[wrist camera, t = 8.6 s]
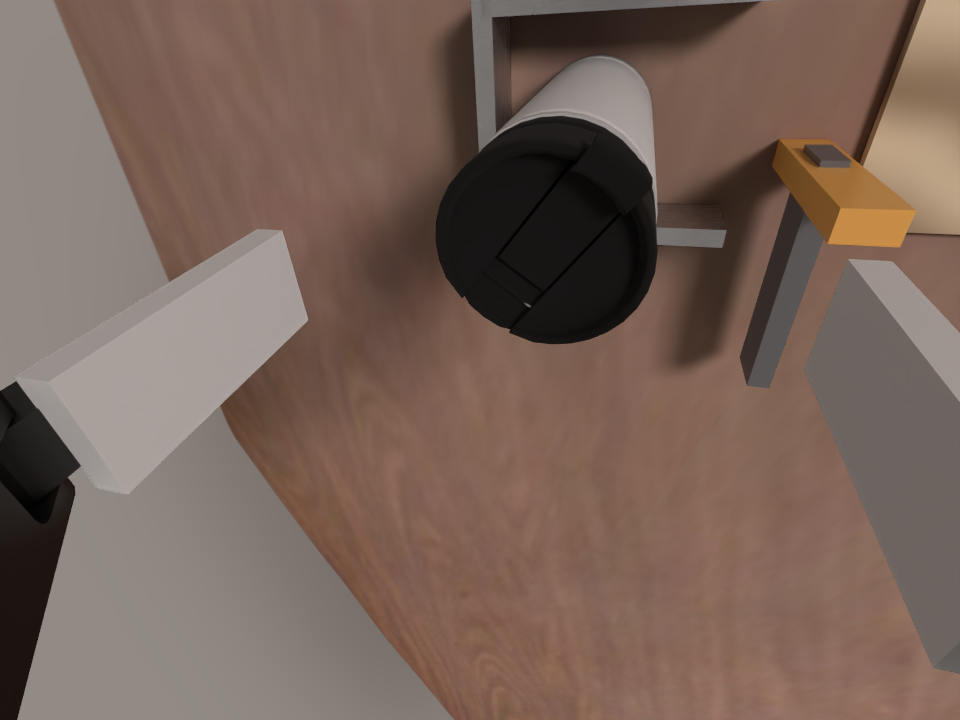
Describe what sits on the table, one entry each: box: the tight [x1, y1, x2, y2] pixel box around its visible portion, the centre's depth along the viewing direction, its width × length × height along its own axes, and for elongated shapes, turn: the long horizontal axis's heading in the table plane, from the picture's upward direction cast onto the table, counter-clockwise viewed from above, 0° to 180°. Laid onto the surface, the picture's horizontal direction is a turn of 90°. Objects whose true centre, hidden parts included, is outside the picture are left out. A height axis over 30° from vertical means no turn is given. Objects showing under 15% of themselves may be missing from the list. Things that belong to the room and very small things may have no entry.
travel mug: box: [436, 54, 658, 344], centre depth 21 cm, size 6×7×20 cm
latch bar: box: [740, 139, 917, 388], centre depth 26 cm, size 13×2×11 cm, turn 3°
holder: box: [471, 0, 770, 248], centre depth 27 cm, size 12×14×4 cm
